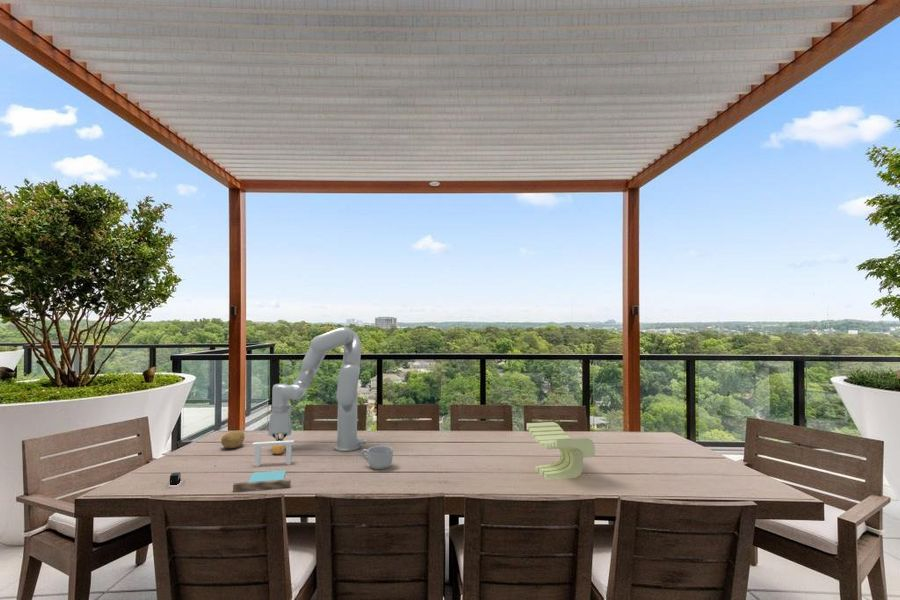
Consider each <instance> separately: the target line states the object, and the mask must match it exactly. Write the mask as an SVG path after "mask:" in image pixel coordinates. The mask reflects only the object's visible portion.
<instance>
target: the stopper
mask: <svg viewBox="0 0 900 600" xmlns="http://www.w3.org/2000/svg"><path fill="white" fill-rule="evenodd" d="M291 485H292V484H291V479H290V478H289V479H283V480H272V481H258V482H248V481H246V482H234V483H233V485H232V492H233V491H238V492H249V490H252V491H257V490H256V489H265V490H273V489H272V488H278V489H289V488H291Z"/></svg>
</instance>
